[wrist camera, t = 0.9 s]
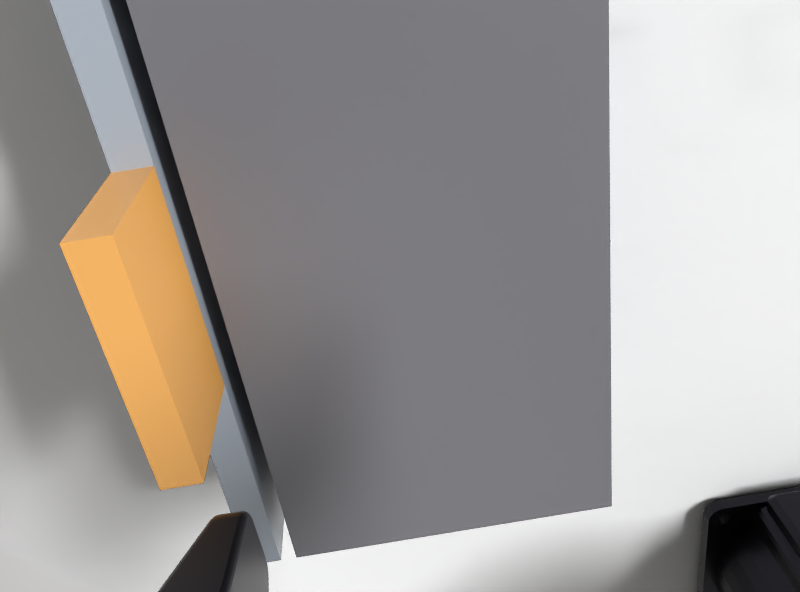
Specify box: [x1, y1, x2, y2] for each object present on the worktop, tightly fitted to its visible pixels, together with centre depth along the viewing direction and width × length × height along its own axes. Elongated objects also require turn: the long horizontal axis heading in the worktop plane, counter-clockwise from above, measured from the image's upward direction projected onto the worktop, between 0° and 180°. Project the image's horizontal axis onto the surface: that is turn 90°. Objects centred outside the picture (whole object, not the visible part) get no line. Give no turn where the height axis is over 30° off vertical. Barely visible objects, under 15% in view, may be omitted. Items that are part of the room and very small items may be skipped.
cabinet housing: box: [126, 0, 612, 557], centre depth 17 cm, size 17×8×5 cm, turn 8°
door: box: [50, 0, 284, 562], centre depth 16 cm, size 16×1×8 cm, turn 8°
